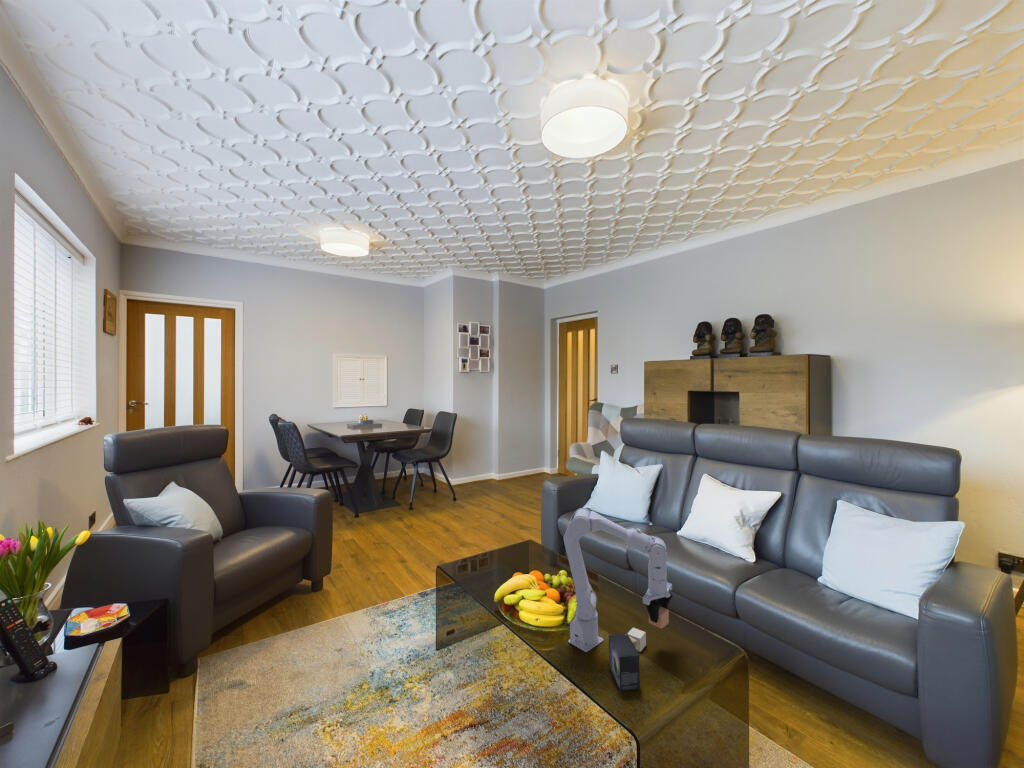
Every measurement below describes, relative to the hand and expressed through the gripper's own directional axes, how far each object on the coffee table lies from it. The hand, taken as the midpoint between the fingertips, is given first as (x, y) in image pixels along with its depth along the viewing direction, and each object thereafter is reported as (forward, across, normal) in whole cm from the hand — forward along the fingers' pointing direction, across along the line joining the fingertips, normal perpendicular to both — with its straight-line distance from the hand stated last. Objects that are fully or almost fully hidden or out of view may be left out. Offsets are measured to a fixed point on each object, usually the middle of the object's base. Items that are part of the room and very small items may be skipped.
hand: (658, 618), depth 146 cm
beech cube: (+10, -9, +6) cm, 15 cm away
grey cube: (+10, -4, +6) cm, 13 cm away
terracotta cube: (+2, 0, 0) cm, 2 cm away
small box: (+11, -20, 0) cm, 22 cm away
